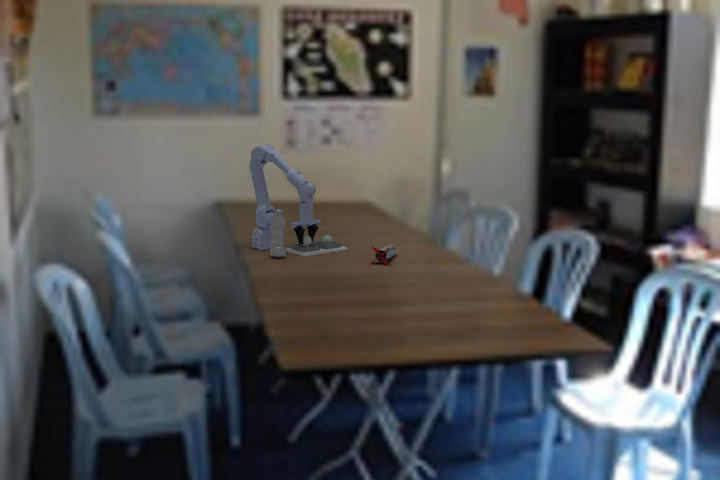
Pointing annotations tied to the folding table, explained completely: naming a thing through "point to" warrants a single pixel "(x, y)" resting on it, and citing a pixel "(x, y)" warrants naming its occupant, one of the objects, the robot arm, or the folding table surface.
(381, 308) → the folding table surface
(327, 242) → the sage ball
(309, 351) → the folding table surface
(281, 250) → the plastic bottle
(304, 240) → the ivory ball
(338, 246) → the ball sorting tray
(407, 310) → the folding table surface
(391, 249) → the model rocket
